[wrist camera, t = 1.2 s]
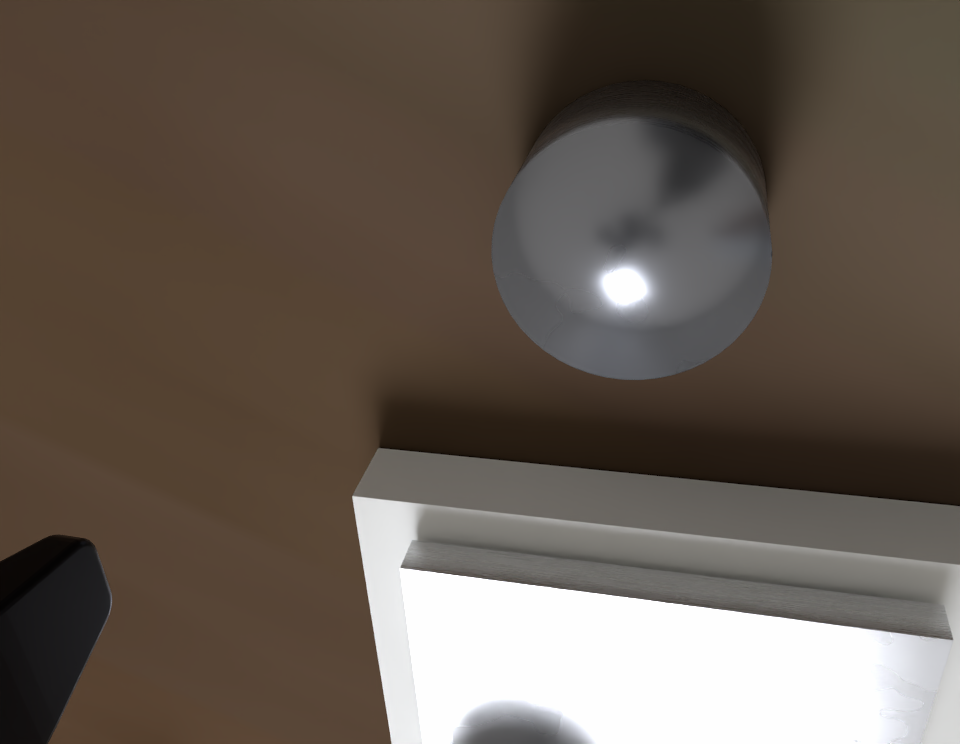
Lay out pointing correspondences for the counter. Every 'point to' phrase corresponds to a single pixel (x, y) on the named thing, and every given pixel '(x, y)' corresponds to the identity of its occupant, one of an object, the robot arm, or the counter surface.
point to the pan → (658, 655)
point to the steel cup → (636, 232)
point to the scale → (648, 543)
